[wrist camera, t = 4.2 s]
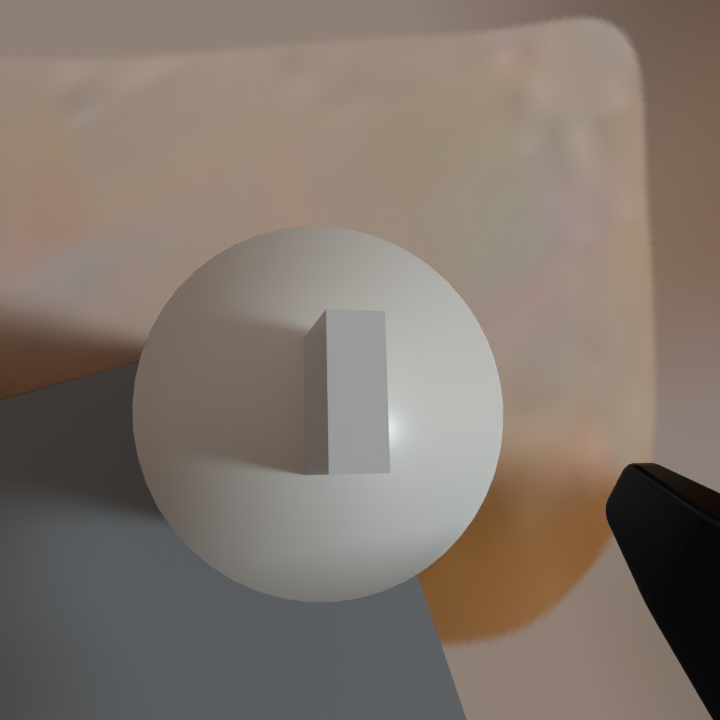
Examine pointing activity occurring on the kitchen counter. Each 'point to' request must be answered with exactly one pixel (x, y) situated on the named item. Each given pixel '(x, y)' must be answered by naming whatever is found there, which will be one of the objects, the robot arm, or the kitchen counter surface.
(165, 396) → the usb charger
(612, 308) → the kitchen counter surface
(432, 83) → the kitchen counter surface
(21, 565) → the desk mat
